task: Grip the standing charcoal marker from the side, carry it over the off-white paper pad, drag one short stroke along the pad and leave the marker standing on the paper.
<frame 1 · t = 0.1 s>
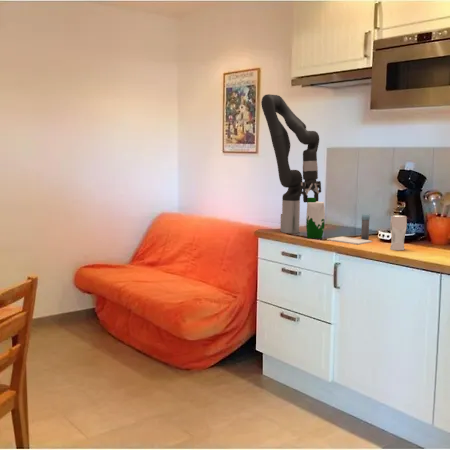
hand: (310, 201, 296), 17 cm above the worktop, tool pointing down, fingers open, 8 cm apart
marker: (364, 239, 285), on the worktop
pad: (349, 241, 280), on the worktop
beer glass: (397, 249, 258), on the worktop
milk carton: (315, 237, 291), on the worktop
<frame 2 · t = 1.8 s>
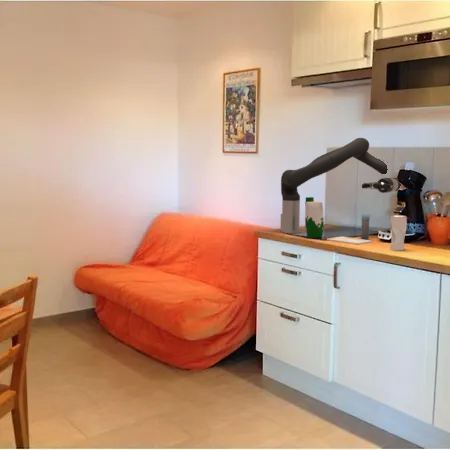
hand: (369, 186, 290), 26 cm above the worktop, tool horizontal, fingers open, 8 cm apart
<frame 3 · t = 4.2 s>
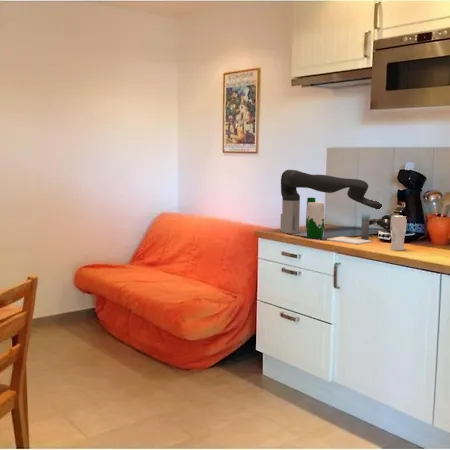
hand: (373, 224, 289), 7 cm above the worktop, tool horizontal, fingers open, 8 cm apart
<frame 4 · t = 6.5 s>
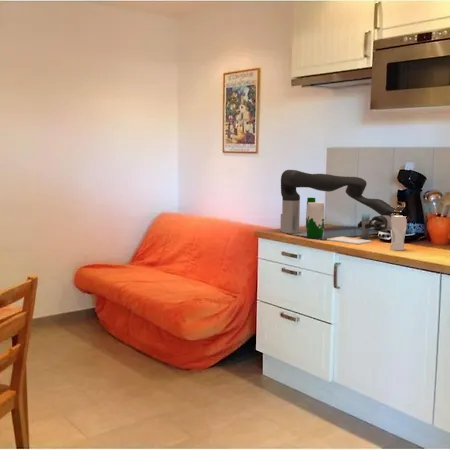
hand: (362, 225, 283), 7 cm above the worktop, tool horizontal, fingers closed on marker, 3 cm apart
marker: (364, 239, 285), on the worktop, touching gripper
everything else where it was.
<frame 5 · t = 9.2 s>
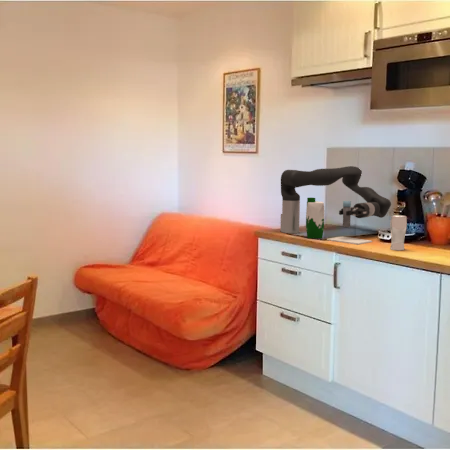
hand: (343, 212, 280), 14 cm above the worktop, tool horizontal, fingers closed on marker, 3 cm apart
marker: (346, 226, 282), point 7 cm above the worktop, touching gripper
everything else where it was.
when the fingers open (8 cm above the worktop, at t = 11.8 s): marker stays where it is, resting on pad.
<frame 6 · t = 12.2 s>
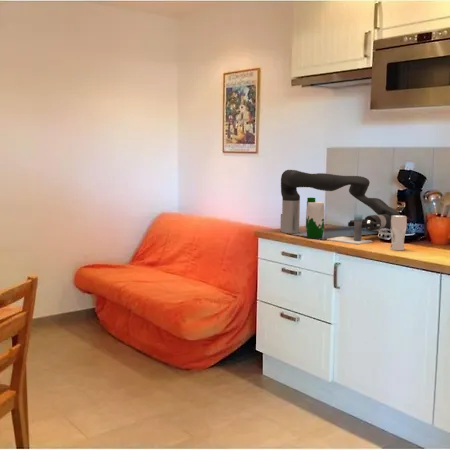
hand: (355, 225, 275), 8 cm above the worktop, tool horizontal, fingers open, 7 cm apart
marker: (357, 240, 278), point 1 cm above the worktop, touching pad
everything else where it was.
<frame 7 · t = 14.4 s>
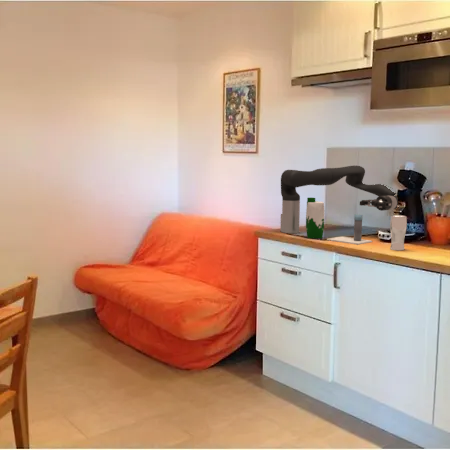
hand: (367, 204, 285), 17 cm above the worktop, tool horizontal, fingers open, 8 cm apart
nothing on the worktop moved.
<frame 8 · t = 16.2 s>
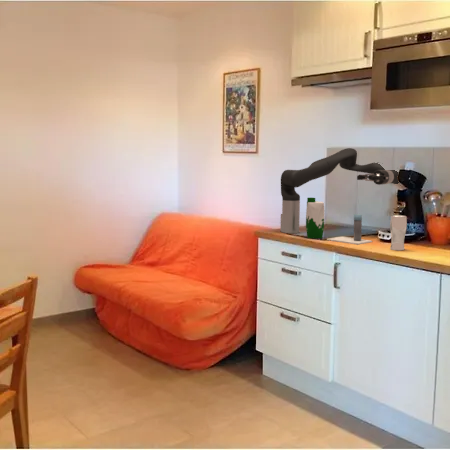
hand: (365, 178, 287), 30 cm above the worktop, tool horizontal, fingers open, 8 cm apart
nothing on the worktop moved.
at the end: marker inside the target area on the pad (4.0 cm from its centre), point 0.6 cm above the pad's base; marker tilted 1°; the gripper is holding nothing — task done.
